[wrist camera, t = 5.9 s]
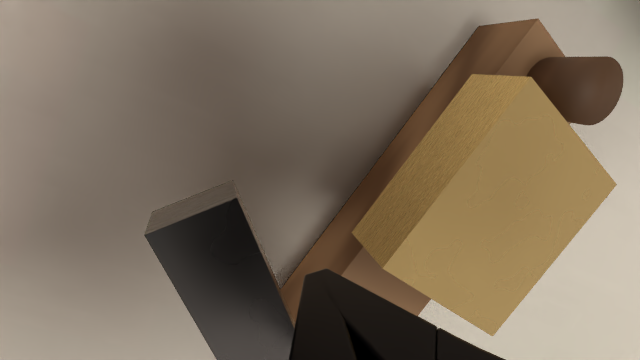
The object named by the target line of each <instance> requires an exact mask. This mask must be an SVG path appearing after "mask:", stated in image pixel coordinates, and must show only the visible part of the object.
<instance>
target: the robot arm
mask: <svg viewBox="0 0 640 360" xmlns="http://www.w3.org/2000/svg"><path fill="white" fill-rule="evenodd" d="M289 360H505V359H503V358H500V357H498V356H496V355H494V354H491V353H489V352H487V351H485V350H482V349H480V348H478V347H476V346H474V345H472V344H470V343H468V342H466V341H464V340H462V339H460V338H458V337H456V336H454V335H452V334H450V333H449V332H447V331H445V330H443V329H441V328H438V329H437V326H435V325H433V324H431V323H429V322H428V321H426V320H424V319H422V318H420V317H418V316H416V315H414V314H412V313H411V312H409V311H407V310H405V309H403V308H401V307H399V306H397V305H395V304H394V303H392V302H390V301H388V300H386V299H384V298H382V297H380V296H379V295H377V294H375V293H373V292H371V291H369V290H367V289H365V288H363V287H362V286H360V285H358V284H356V283H354V282H352V281H350V280H348V279H346V278H345V277H343V276H341V275H339V274H337V273H335V272H333V271H331V270H330V269H327V268H325V269H322V270H319V271H316V272H312V273H309V274H306V275H305V276H304V280H303V285H302V291H301V296H300V301H299V307H298V312H297V317H296V323H295V328H294V333H293V339H292V344H291V350H290V355H289Z"/></svg>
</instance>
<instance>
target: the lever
mask: <svg viewBox="0 0 640 360" xmlns="http://www.w3.org/2000/svg"><path fill="white" fill-rule="evenodd" d="M145 237H146V239H147V240H148V242H149V244H150V246H151V247H152V249H153V251H154V252H155V254H156V256H157V258H158V259H159V261H160V263H161V264H162V266H163V268H164V270H165V271H166V273H167V275H168V277H169V278H170V280H171V282H172V283H173V285H174V287H175V289H176V290H177V292H178V294H179V295H180V297H181V299H182V301H183V302H184V304H185V306H186V307H187V309H188V311H189V313H190V314H191V316H192V318H193V320H194V321H195V323H196V325H197V326H198V328H199V330H200V332H201V333H202V335H203V337H204V338H205V340H206V342H207V344H208V345H209V347H210V349H211V351H212V352H213V354H214V356H215V357H216V359H217V360H289V355H290V350H291V344H292V339H293V333H294V328H295V322H294V320H293V318H292V315H291V313H290V311H289V308H288V306H287V304H286V301H285V299H284V297H283V295H282V292H281V290H280V288H279V285H278V283H277V281H276V278H275V276H274V274H273V272H272V269H271V267H270V265H269V262H268V260H267V258H266V256H265V253H264V251H263V249H262V246H261V244H260V242H259V239H258V237H257V235H256V233H255V230H254V228H253V226H252V223H251V221H250V219H249V216H248V214H247V212H246V210H245V207H244V205H243V203H242V200H241V198H240V196H239V193H238V191H237V189H236V187H235V184H234V182H233V180H232V181H230V182H227V183H224V184H222V185H219V186H217V187H214V188H212V189H209V190H207V191H204V192H202V193H199V194H196V195H194V196H191V197H189V198H186V199H184V200H181V201H179V202H176V203H174V204H171V205H168V206H166V207H163V208H161V209H158V210H156V211H153V212H152V214H151V217H150V220H149V223H148V226H147V229H146V232H145Z"/></svg>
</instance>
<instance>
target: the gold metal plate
mask: <svg viewBox="0 0 640 360" xmlns="http://www.w3.org/2000/svg"><path fill="white" fill-rule="evenodd" d="M616 185H617V184H616V183H615V182H614V181H613V179H612V178H611V177H610V175H609V174H608V173H607V172H606V170H605V169H604V168H603V167H602V165H601V164H600V163H599V162H598V160H597V159H596V158H595V157H594V155H593V154H592V153H591V152H590V150H589V149H588V148H587V147H586V145H585V144H584V143H583V141H582V140H581V139H580V138H579V136H578V135H577V134H576V133H575V131H574V130H573V129H572V128H571V126H570V125H569V124H568V123H567V121H566V120H565V119H564V118H563V116H562V115H561V114H560V112H559V111H558V110H557V109H556V107H555V106H554V105H553V104H552V102H551V101H550V100H549V99H548V97H547V96H546V95H545V94H544V92H543V91H542V90H541V89H540V87H539V86H538V85H537V83H536V82H535V81H534V80H533V78H532V77H524V76H503V75H482V74H472V75H471V76H470V77H469V79H468V80H467V81H466V83H465V84H464V85H463V87H462V88H461V89H460V90H459V92H458V93H457V94H456V96H455V97H454V98H453V100H452V101H451V102H450V104H449V105H448V106H447V108H446V109H445V110H444V111H443V113H442V114H441V115H440V117H439V118H438V119H437V121H436V122H435V123H434V125H433V126H432V127H431V129H430V130H429V131H428V133H427V134H426V135H425V136H424V138H423V139H422V140H421V142H420V143H419V144H418V146H417V147H416V148H415V150H414V151H413V152H412V154H411V155H410V156H409V158H408V159H407V160H406V161H405V163H404V164H403V165H402V167H401V168H400V169H399V171H398V172H397V173H396V175H395V176H394V177H393V179H392V180H391V181H390V182H389V184H388V185H387V186H386V188H385V189H384V190H383V192H382V193H381V194H380V196H379V197H378V198H377V200H376V201H375V202H374V204H373V205H372V206H371V207H370V209H369V210H368V211H367V213H366V214H365V215H364V217H363V218H362V219H361V221H360V222H359V223H358V225H357V226H356V227H355V229H354V230H353V231H352V232H351V233H352V234H353V235H354V236H355V237H356V238H357V240H358V241H359V242H360V243H361V244H362V245H363V247H364V248H365V249H366V250H367V251H368V252H369V254H370V255H371V256H372V257H373V258H374V259H375V261H376V262H377V263H378V264H379V265H380V266H381V267H382V269H384V270H386V271H387V272H389V273H390V274H392V275H394V276H395V277H397V278H399V279H400V280H402V281H403V282H405V283H407V284H408V285H410V286H412V287H413V288H415V289H416V290H418V291H420V292H421V293H423V294H424V295H426V296H428V297H429V298H431V299H433V300H434V301H436V302H437V303H439V304H441V305H442V306H444V307H446V308H447V309H449V310H450V311H452V312H454V313H455V314H457V315H459V316H460V317H462V318H463V319H465V320H467V321H468V322H470V323H472V324H473V325H475V326H476V327H478V328H480V329H481V330H483V331H485V332H486V333H488V334H489V335H491V336H493V335H494V334H495V333H496V332H497V330H498V329H499V328H500V327H501V325H502V324H503V323H504V322H505V321H506V319H507V318H508V317H509V316H510V314H511V313H512V312H513V311H514V310H515V308H516V307H517V306H518V305H519V303H520V302H521V301H522V300H523V299H524V297H525V296H526V295H527V294H528V292H529V291H530V290H531V289H532V288H533V286H534V285H535V284H536V283H537V281H538V280H539V279H540V278H541V277H542V275H543V274H544V273H545V272H546V270H547V269H548V268H549V267H550V266H551V264H552V263H553V262H554V261H555V259H556V258H557V257H558V256H559V255H560V253H561V252H562V251H563V250H564V248H565V247H566V246H567V245H568V244H569V242H570V241H571V240H572V239H573V237H574V236H575V235H576V234H577V233H578V231H579V230H580V229H581V228H582V226H583V225H584V224H585V223H586V222H587V220H588V219H589V218H590V217H591V215H592V214H593V213H594V212H595V211H596V209H597V208H598V207H599V206H600V204H601V203H602V202H603V201H604V200H605V198H606V197H607V196H608V195H609V193H610V192H611V191H612V190H613V189H614V187H615V186H616Z"/></svg>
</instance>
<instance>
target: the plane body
mask: <svg viewBox="0 0 640 360" xmlns="http://www.w3.org/2000/svg"><path fill="white" fill-rule="evenodd" d="M472 74H482V75H503V76H524V77H532V78H533V80H534V81H535V82H536V83H537V85H538V86H539V87H540V89H541V90H542V91H543V92H544V94H545V95H546V96H547V97H548V99H549V100H550V101H551V102H552V104H553V105H554V106H555V107H556V109H557V110H558V111H559V112H560V114H561V115H562V116H563V118H564V119H565V120H566V121H567V123H568V124H569V125H570V123H577V124H583V125H594V124H597V123H599V122H601V121H602V120H603V119H605V118H606V117H607V116H608V115H609V114H610V113H611V112H612V110H613V109H614V107H615V106H616V104H617V102H618V100H619V98H620V95H621V92H622V87H623V72H622V69H621V66H620V64H619V63H618V62H617V61H616V60H615V59H613V58H611V57H565V56H564V54H563V53H562V51H561V50H560V49H559V47H558V46H557V44H556V43H555V41H554V40H553V39H552V37H551V36H550V34H549V33H548V32H547V30H546V29H545V27H544V26H543V25H542V23H541V22H540V20H539V19H531V20H523V21H515V22H507V23H500V24H492V25H484V26H479V27H478V28H477V29H476V31H475V32H474V33H473V35H472V36H471V37H470V39H469V40H468V41H467V43H466V44H465V45H464V47H463V48H462V49H461V51H460V52H459V53H458V55H457V56H456V57H455V59H454V60H453V61H452V63H451V64H450V65H449V67H448V68H447V69H446V71H445V72H444V73H443V75H442V76H441V77H440V79H439V80H438V81H437V83H436V84H435V85H434V87H433V88H432V89H431V91H430V92H429V93H428V95H427V96H426V97H425V99H424V100H423V101H422V103H421V104H420V105H419V106H418V108H417V109H416V110H415V112H414V113H413V114H412V116H411V117H410V118H409V120H408V121H407V122H406V124H405V125H404V126H403V128H402V129H401V130H400V132H399V133H398V134H397V136H396V137H395V138H394V140H393V141H392V142H391V144H390V145H389V146H388V148H387V149H386V150H385V152H384V153H383V154H382V156H381V157H380V158H379V160H378V161H377V162H376V164H375V165H374V166H373V168H372V169H371V170H370V172H369V173H368V174H367V176H366V177H365V178H364V179H363V181H362V182H361V183H360V185H359V186H358V187H357V189H356V190H355V191H354V193H353V194H352V195H351V197H350V198H349V199H348V201H347V202H346V203H345V205H344V206H343V207H342V209H341V210H340V211H339V213H338V214H337V215H336V217H335V218H334V219H333V221H332V222H331V223H330V225H329V226H328V227H327V229H326V230H325V231H324V233H323V234H322V235H321V237H320V238H319V239H318V241H317V242H316V243H315V245H314V246H313V247H312V249H311V250H310V251H309V252H308V254H307V255H306V256H305V258H304V259H303V260H302V262H301V263H300V264H299V266H298V267H297V268H296V270H295V271H294V272H293V274H292V275H291V276H290V278H289V279H288V280H287V282H286V283H285V284H284V286H283V287H282V288H281V292H282V295H283V297H284V299H285V301H286V304H287V306H288V308H289V311H290V313H291V315H292V318H293V320H294V322H295V323H296V317H297V312H298V307H299V301H300V296H301V291H302V285H303V280H304V276H305V275H306V274H309V273H312V272H316V271H319V270H322V269H325V268H327V269H330V270H331V271H333V272H335V273H337V274H339V275H341V276H343V277H345V278H346V279H348V280H350V281H352V282H354V283H356V284H358V285H360V286H362V287H363V288H365V289H367V290H369V291H371V292H373V293H375V294H377V295H379V296H380V297H382V298H384V299H386V300H388V301H390V302H392V303H394V304H395V305H397V306H399V307H401V308H403V309H405V310H407V311H409V312H411V313H412V314H414V315H416V316H418V315H419V314H420V312H421V311H422V310H423V308H424V307H425V306H426V305H427V303H428V302H429V301H430V300H431V298H429V297H428V296H426V295H424V294H423V293H421V292H420V291H418V290H416V289H415V288H413V287H412V286H410V285H408V284H407V283H405V282H403V281H402V280H400V279H399V278H397V277H395V276H394V275H392V274H390V273H389V272H387V271H386V270H384V269H382V267H381V266H380V265H379V264H378V263H377V262H376V261H375V259H374V258H373V257H372V256H371V255H370V254H369V252H368V251H367V250H366V249H365V248H364V247H363V245H362V244H361V243H360V242H359V241H358V240H357V238H356V237H355V236H354V235H353V234H352V233H351V232H352V231H353V230H354V229H355V227H356V226H357V225H358V223H359V222H360V221H361V219H362V218H363V217H364V215H365V214H366V213H367V211H368V210H369V209H370V207H371V206H372V205H373V204H374V202H375V201H376V200H377V198H378V197H379V196H380V194H381V193H382V192H383V190H384V189H385V188H386V186H387V185H388V184H389V182H390V181H391V180H392V179H393V177H394V176H395V175H396V173H397V172H398V171H399V169H400V168H401V167H402V165H403V164H404V163H405V161H406V160H407V159H408V158H409V156H410V155H411V154H412V152H413V151H414V150H415V148H416V147H417V146H418V144H419V143H420V142H421V140H422V139H423V138H424V136H425V135H426V134H427V133H428V131H429V130H430V129H431V127H432V126H433V125H434V123H435V122H436V121H437V119H438V118H439V117H440V115H441V114H442V113H443V111H444V110H445V109H446V108H447V106H448V105H449V104H450V102H451V101H452V100H453V98H454V97H455V96H456V94H457V93H458V92H459V90H460V89H461V88H462V87H463V85H464V84H465V83H466V81H467V80H468V79H469V77H470V76H471V75H472Z"/></svg>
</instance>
